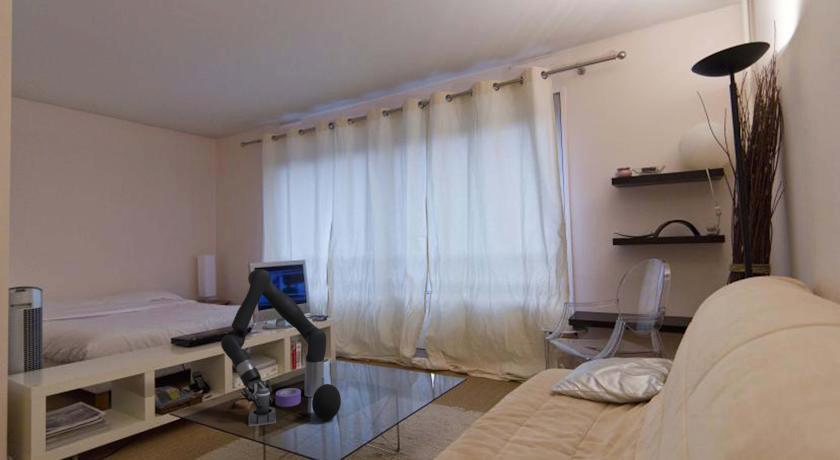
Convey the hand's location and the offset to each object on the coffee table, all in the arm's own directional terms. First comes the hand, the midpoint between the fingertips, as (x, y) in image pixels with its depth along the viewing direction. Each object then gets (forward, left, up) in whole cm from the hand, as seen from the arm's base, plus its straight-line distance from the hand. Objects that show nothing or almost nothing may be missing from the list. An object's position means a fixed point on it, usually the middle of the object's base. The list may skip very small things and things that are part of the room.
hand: (265, 405), depth 176 cm
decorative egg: (-25, +7, -7) cm, 27 cm away
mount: (+1, -1, -6) cm, 7 cm away
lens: (+1, -1, -5) cm, 5 cm away
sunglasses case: (+7, -25, -7) cm, 27 cm away
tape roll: (-11, -19, -7) cm, 23 cm away
